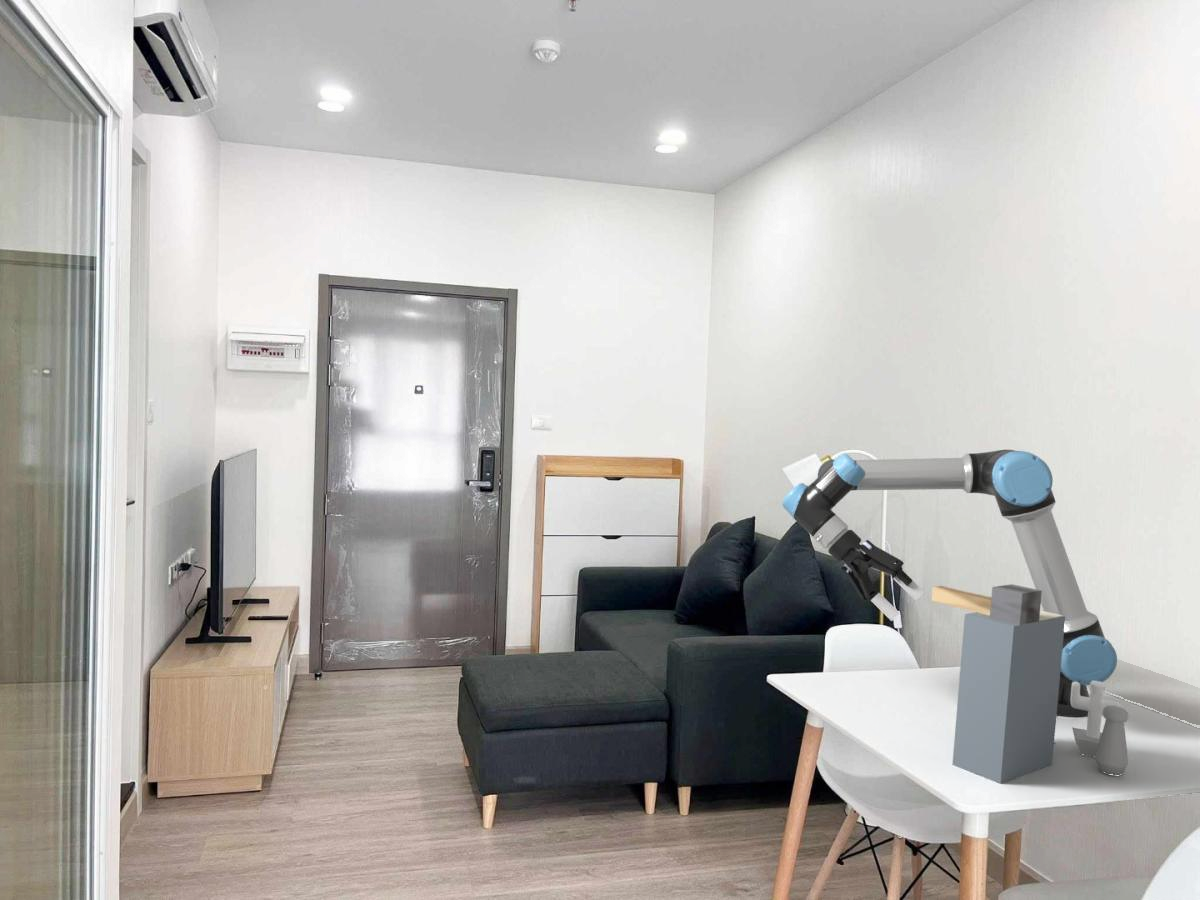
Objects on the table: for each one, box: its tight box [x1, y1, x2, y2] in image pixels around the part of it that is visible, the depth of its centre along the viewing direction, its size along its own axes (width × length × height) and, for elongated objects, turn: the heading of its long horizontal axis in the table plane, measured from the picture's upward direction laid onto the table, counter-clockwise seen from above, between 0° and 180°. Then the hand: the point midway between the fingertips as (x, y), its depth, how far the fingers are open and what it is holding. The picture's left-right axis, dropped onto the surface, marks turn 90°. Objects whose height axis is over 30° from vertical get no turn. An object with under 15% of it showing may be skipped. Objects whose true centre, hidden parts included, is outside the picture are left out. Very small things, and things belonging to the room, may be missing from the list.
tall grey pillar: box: [952, 609, 1065, 785], centre depth 180 cm, size 19×10×30 cm, turn 126°
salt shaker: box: [1094, 706, 1129, 776], centre depth 180 cm, size 6×6×13 cm
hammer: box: [931, 584, 1042, 625], centre depth 181 cm, size 7×20×6 cm, turn 36°
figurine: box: [1070, 681, 1122, 757], centre depth 190 cm, size 7×9×15 cm
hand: (907, 607), depth 205 cm, fingers open, 13 cm apart
